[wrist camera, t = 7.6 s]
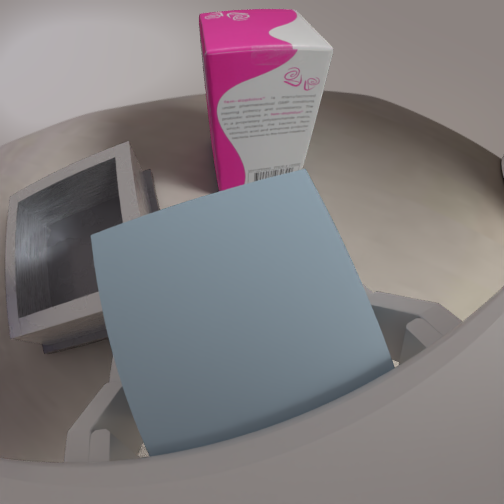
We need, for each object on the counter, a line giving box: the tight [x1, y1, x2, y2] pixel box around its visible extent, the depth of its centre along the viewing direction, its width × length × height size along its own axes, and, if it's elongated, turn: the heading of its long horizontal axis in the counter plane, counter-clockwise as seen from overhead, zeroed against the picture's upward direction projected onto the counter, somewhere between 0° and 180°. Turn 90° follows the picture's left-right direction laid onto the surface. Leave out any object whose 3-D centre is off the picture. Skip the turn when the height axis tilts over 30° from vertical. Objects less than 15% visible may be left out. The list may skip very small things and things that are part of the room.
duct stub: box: [91, 169, 395, 456], centre depth 11 cm, size 5×5×12 cm
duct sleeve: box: [5, 141, 160, 354], centre depth 16 cm, size 11×11×5 cm
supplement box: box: [199, 9, 333, 191], centre depth 16 cm, size 6×6×11 cm
